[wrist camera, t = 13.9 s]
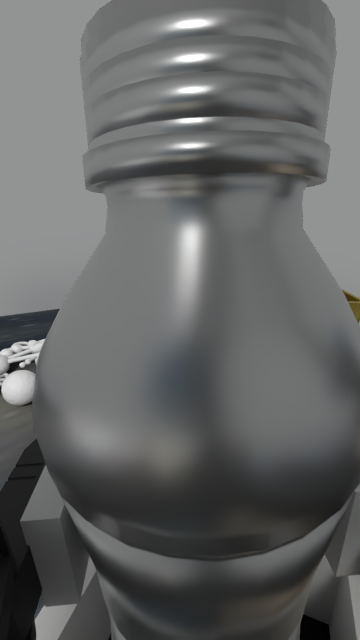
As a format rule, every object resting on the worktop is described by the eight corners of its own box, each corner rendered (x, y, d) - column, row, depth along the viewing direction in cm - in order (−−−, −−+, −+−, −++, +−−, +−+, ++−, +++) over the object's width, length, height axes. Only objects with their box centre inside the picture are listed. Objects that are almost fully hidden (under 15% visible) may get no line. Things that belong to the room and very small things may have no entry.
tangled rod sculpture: (23, 347, 50) (17, 325, 49) (103, 341, 49) (99, 318, 47) (-82, 417, 32) (-97, 384, 31) (41, 412, 30) (30, 377, 29)
